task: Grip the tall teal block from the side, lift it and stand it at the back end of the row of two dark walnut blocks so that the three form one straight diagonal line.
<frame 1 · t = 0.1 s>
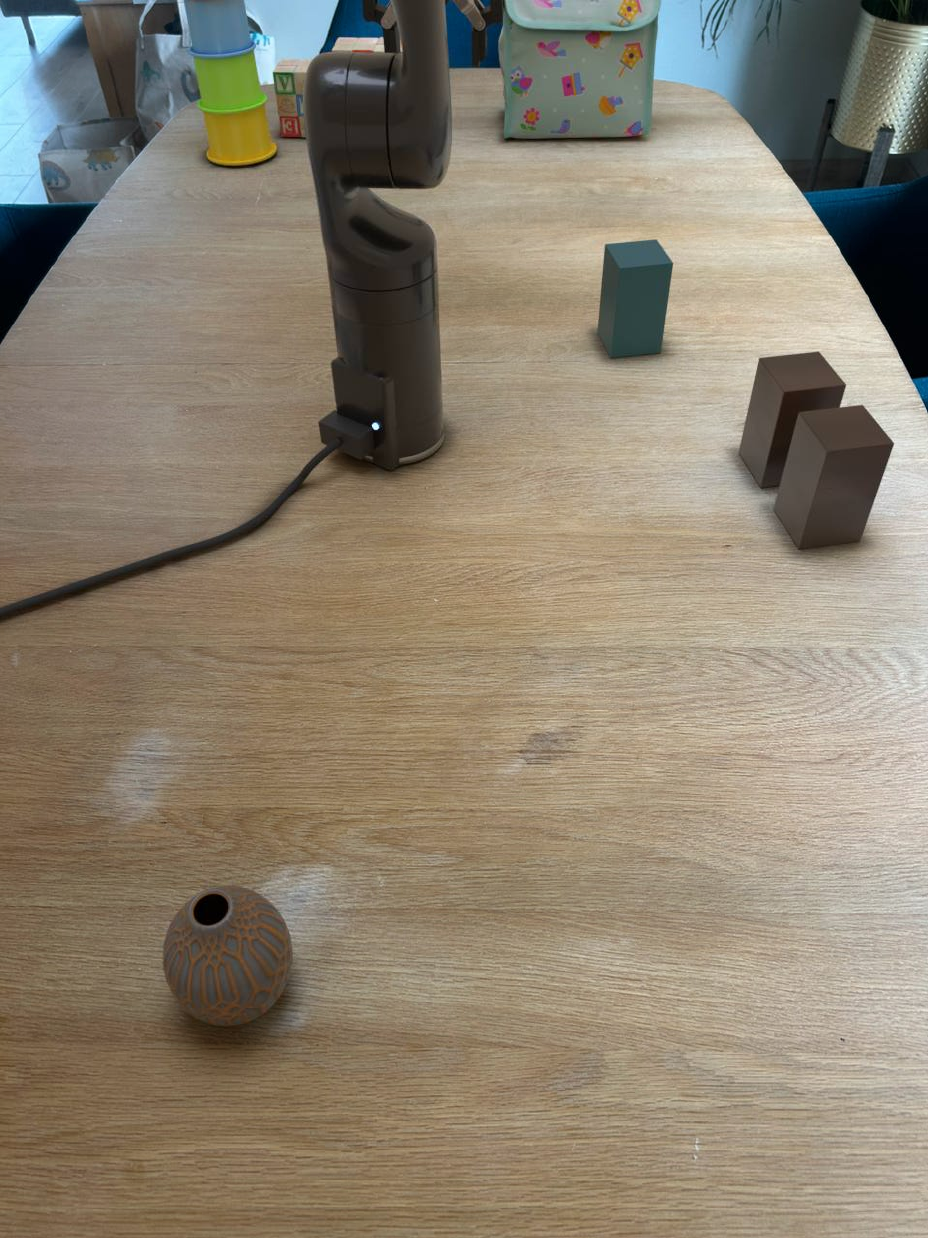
hand: (436, 63, 105), 22 cm above the table, tool pointing down, fingers open, 8 cm apart
walnut block middle: (777, 466, 92), on the table
vase: (240, 985, 58), on the table
lunch bag: (572, 127, 153), on the table
stack of blocks: (353, 133, 153), on the table
stacking cups: (242, 156, 147), on the table
walnut block front: (816, 525, 86), on the table
teal block: (628, 342, 108), on the table
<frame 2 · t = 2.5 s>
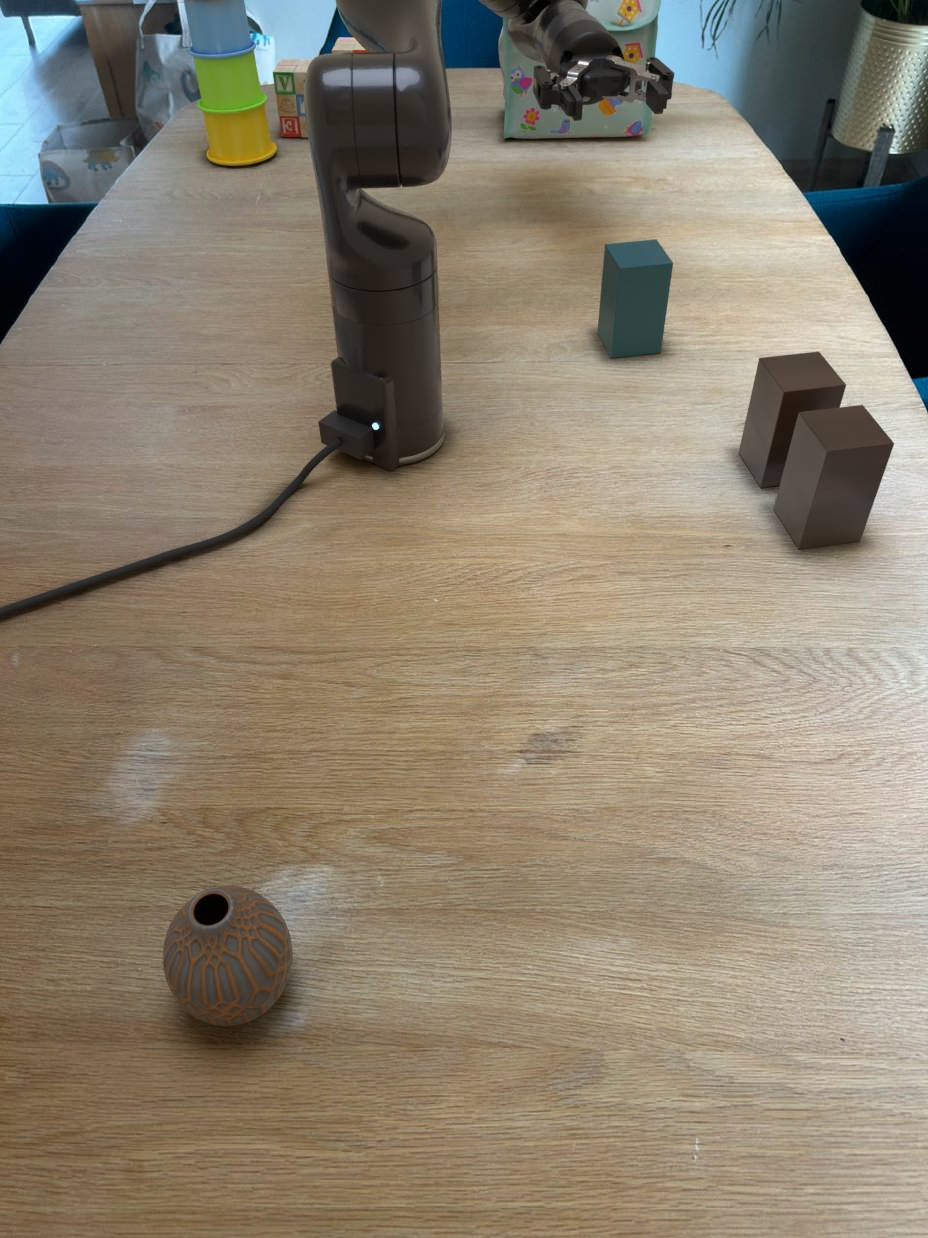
hand: (620, 107, 101), 20 cm above the table, tool horizontal, fingers open, 8 cm apart
nothing on the table moved.
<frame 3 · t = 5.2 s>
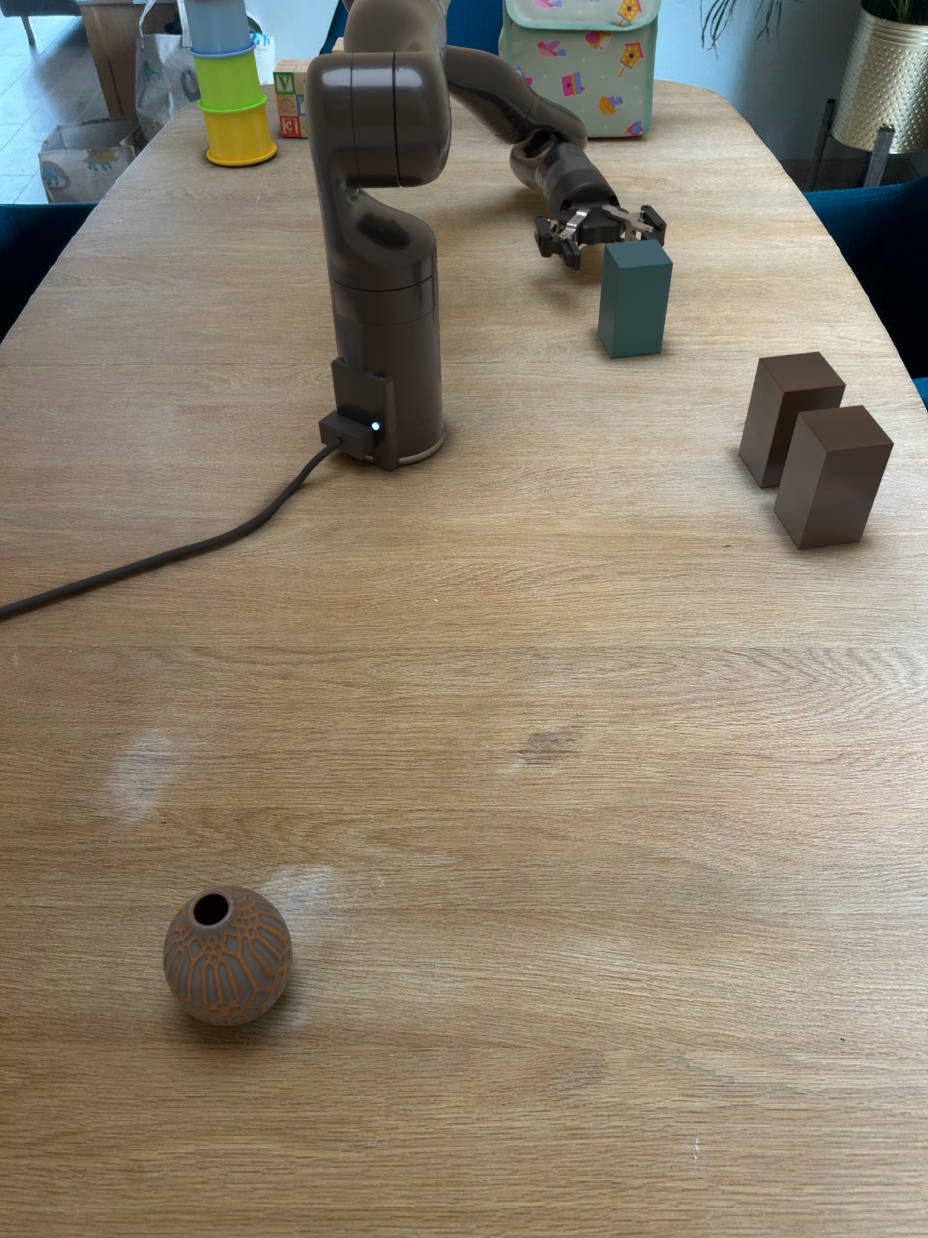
hand: (616, 259, 108), 6 cm above the table, tool horizontal, fingers open, 8 cm apart
nothing on the table moved.
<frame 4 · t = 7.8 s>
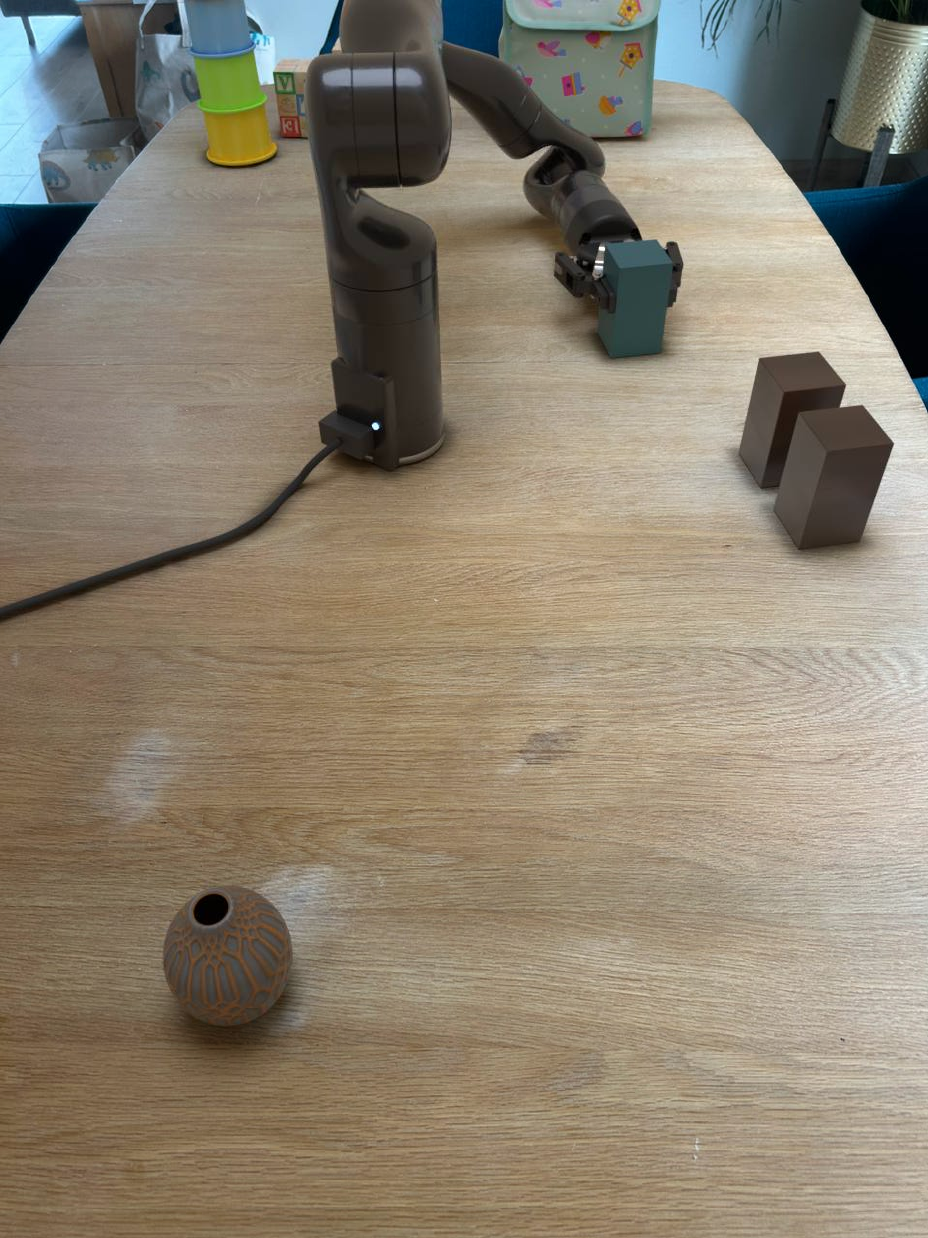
hand: (641, 301, 102), 6 cm above the table, tool horizontal, fingers closed on teal block, 5 cm apart
teal block: (628, 342, 108), on the table, touching gripper
everything else where it was.
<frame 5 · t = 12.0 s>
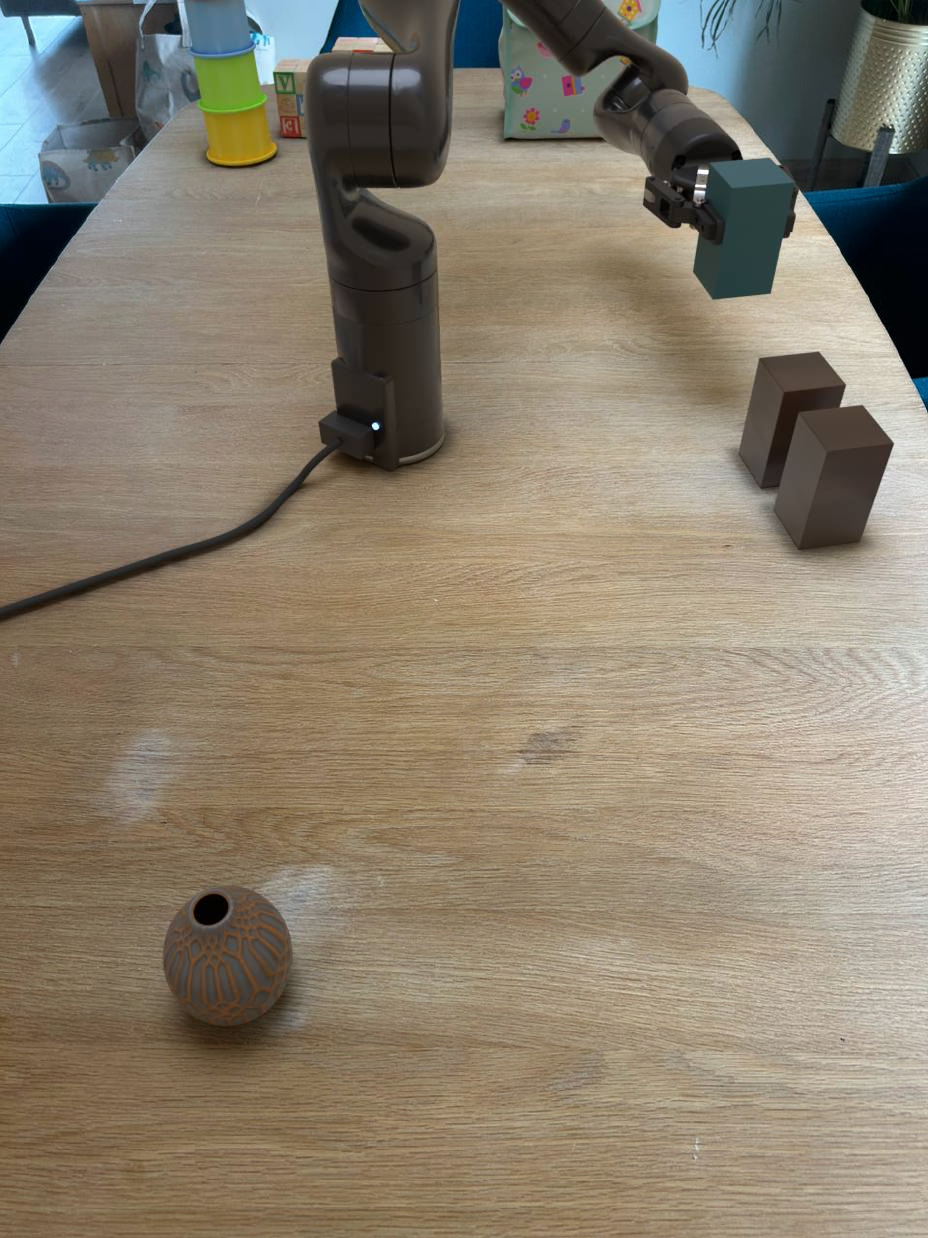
hand: (754, 230, 86), 18 cm above the table, tool horizontal, fingers closed on teal block, 5 cm apart
teal block: (731, 282, 92), point 12 cm above the table, touching gripper
everything else where it was.
when the fingers open (6 cm above the table, at t = 16.3 s): teal block stays where it is, on the table.
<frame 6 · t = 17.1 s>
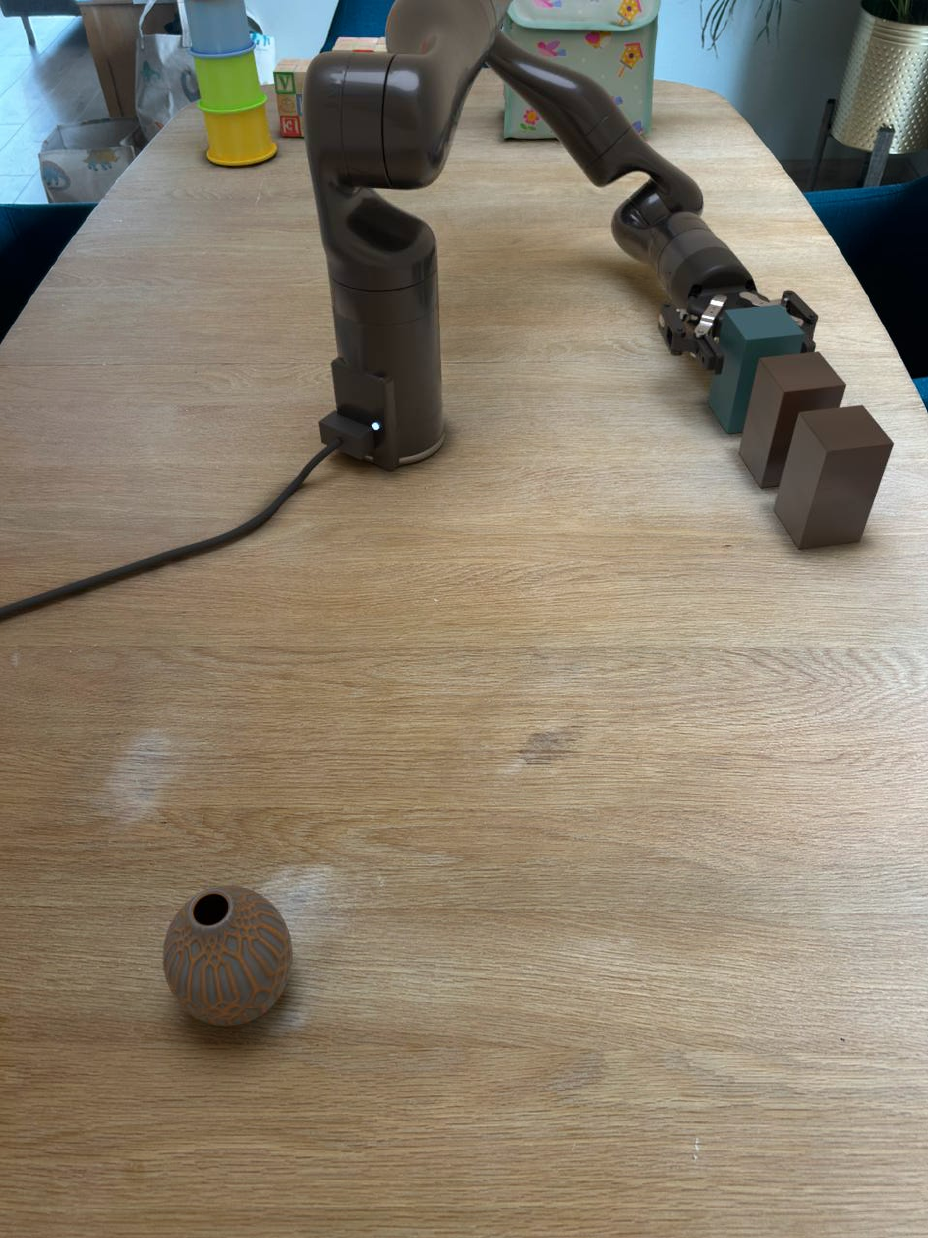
hand: (764, 361, 92), 7 cm above the table, tool horizontal, fingers open, 8 cm apart
teal block: (743, 415, 98), on the table
everything else where it was.
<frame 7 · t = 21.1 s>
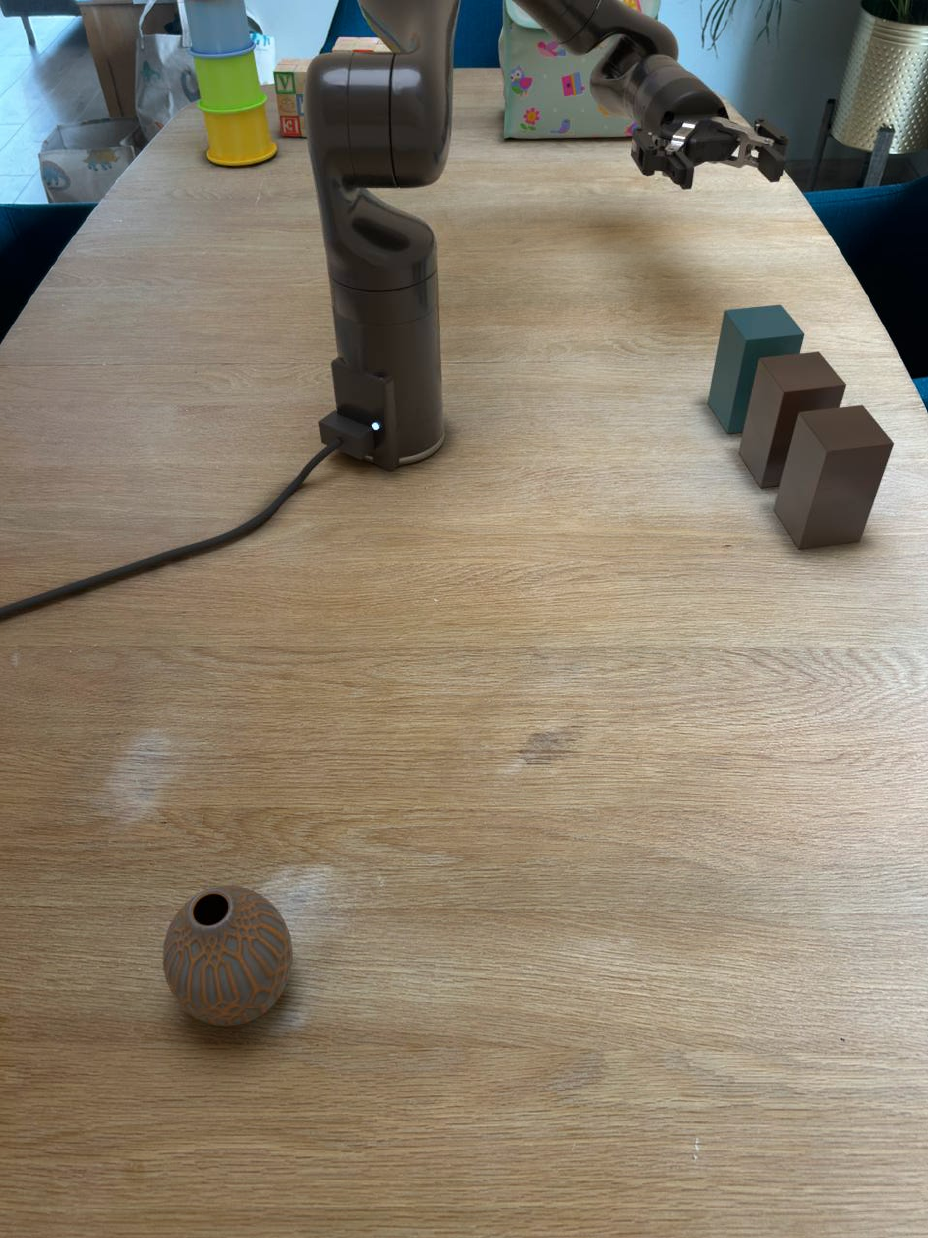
hand: (734, 175, 92), 19 cm above the table, tool horizontal, fingers open, 8 cm apart
nothing on the table moved.
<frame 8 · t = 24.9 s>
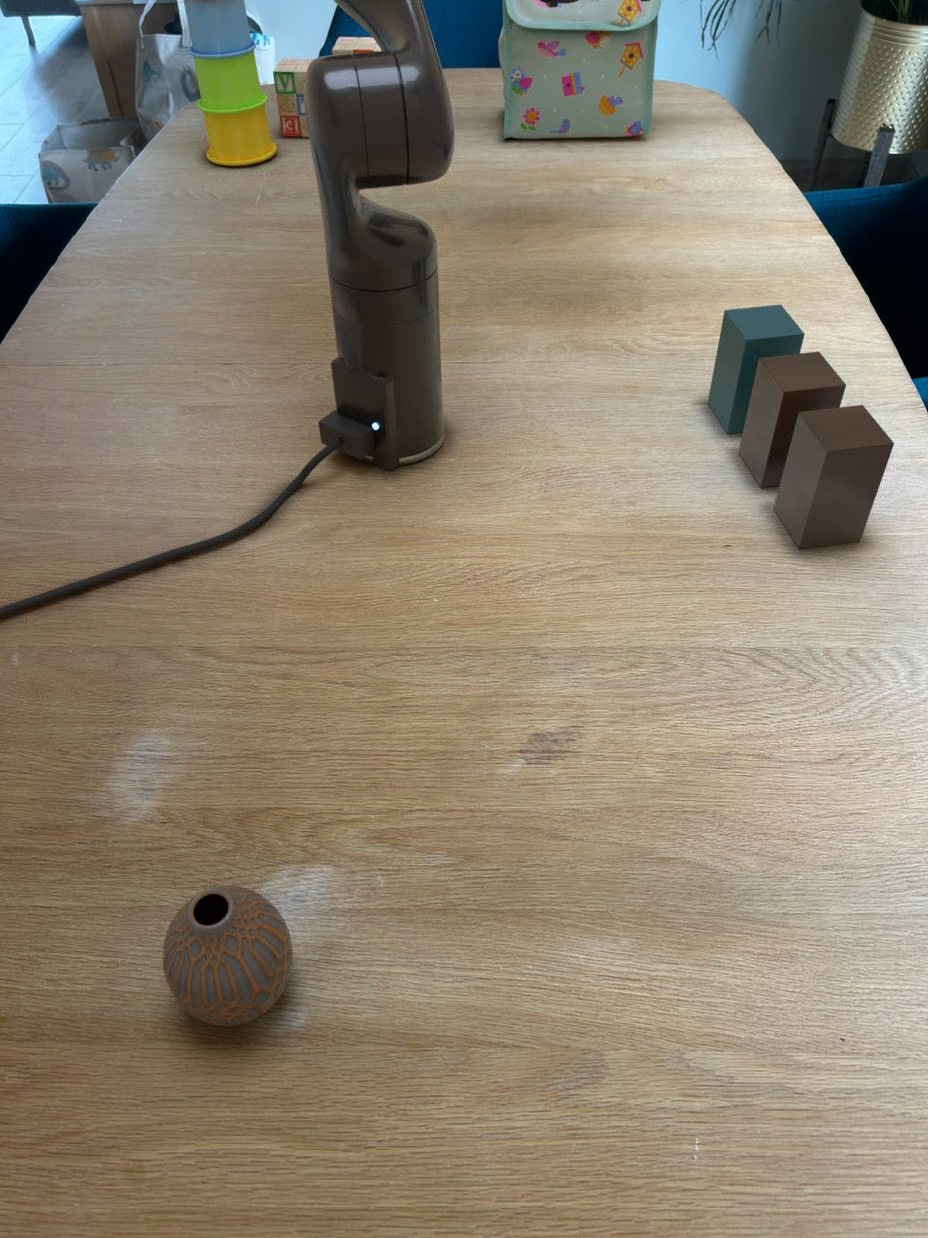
nothing on the table moved.
at the end: teal block 0.1 cm from the target spot on the table beside the walnut block front, on the table; teal block tilted 0°; walnut block middle moved 0.0 cm from its start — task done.
